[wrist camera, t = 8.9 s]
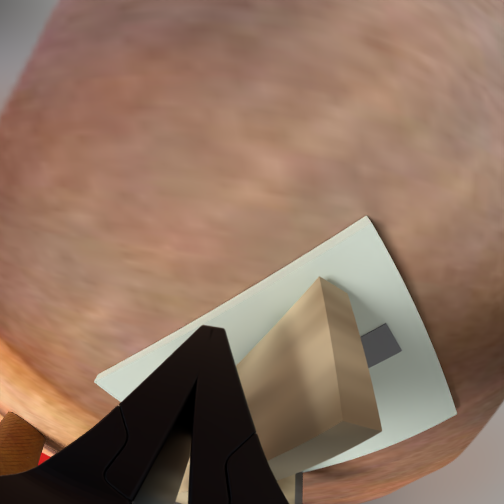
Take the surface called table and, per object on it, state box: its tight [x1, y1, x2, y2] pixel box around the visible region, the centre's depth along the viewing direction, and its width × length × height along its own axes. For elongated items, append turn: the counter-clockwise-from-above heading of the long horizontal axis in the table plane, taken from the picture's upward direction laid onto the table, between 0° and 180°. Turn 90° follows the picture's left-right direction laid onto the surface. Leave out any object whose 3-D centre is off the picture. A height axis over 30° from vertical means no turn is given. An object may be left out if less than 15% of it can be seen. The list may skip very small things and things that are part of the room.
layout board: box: [94, 216, 457, 473], centre depth 14 cm, size 16×16×1 cm
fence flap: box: [175, 276, 382, 504], centre depth 9 cm, size 13×2×6 cm, turn 148°
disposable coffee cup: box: [0, 412, 45, 476], centre depth 20 cm, size 10×10×12 cm
